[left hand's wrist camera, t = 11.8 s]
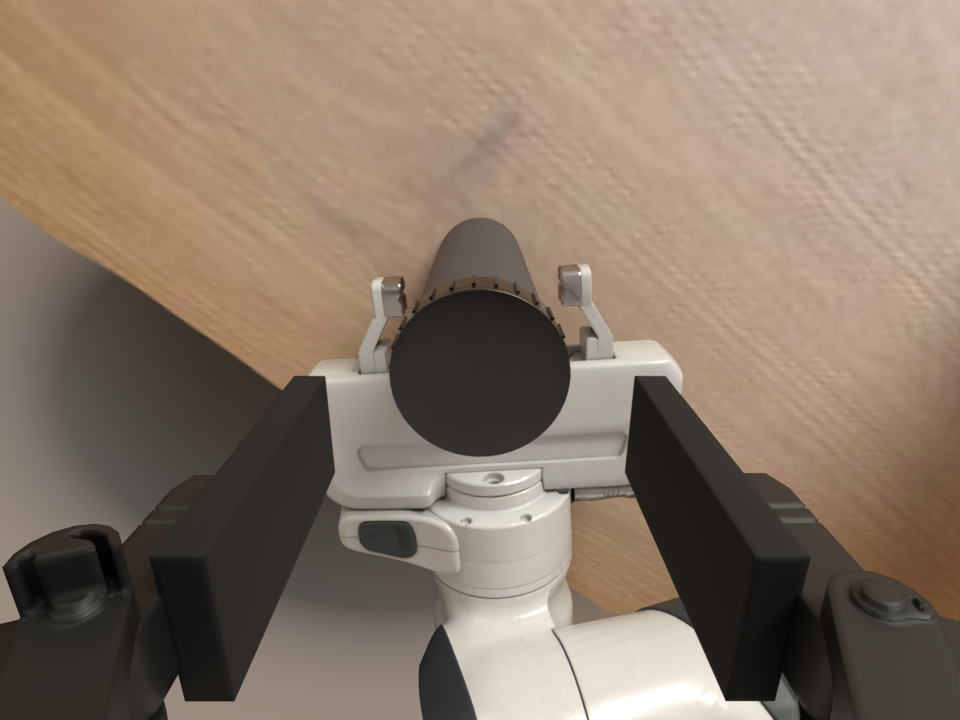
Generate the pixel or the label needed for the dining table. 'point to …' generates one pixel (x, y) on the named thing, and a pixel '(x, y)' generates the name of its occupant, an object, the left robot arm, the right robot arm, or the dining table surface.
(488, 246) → the dark grey cylinder
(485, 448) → the lid
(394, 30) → the dining table surface
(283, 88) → the dining table surface
